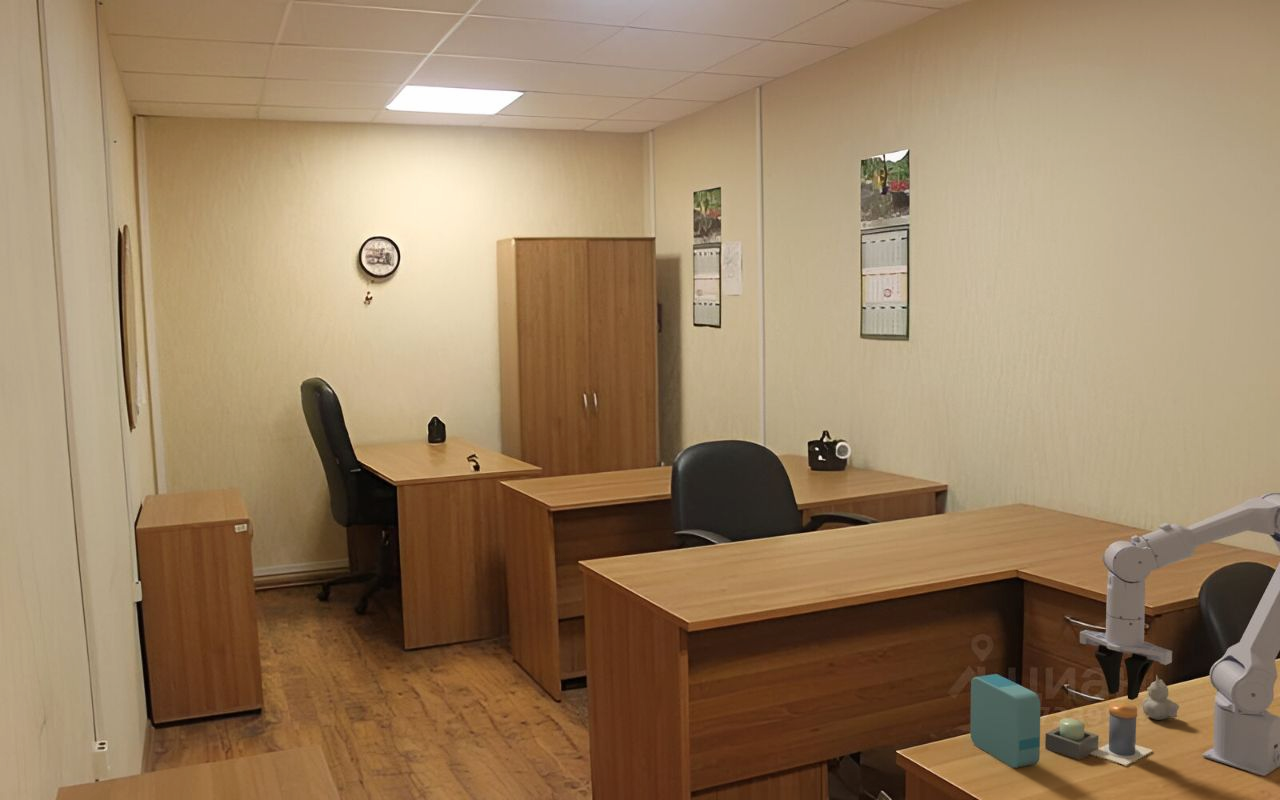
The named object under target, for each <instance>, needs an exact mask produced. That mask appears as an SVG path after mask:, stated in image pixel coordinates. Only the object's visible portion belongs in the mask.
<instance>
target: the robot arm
mask: <svg viewBox="0 0 1280 800" xmlns="http://www.w3.org/2000/svg"><path fill="white" fill-rule="evenodd" d="M1158 527H1159V528H1158V529H1156V530H1154V531H1151V532H1148V533H1145V534H1143V535H1139V536H1138V535H1137V534H1135V535H1132V536H1131V537H1130V540H1131V541H1129V540H1126V541H1125V540H1118V541H1115V542H1113V543H1111V544H1110V545H1109V546H1108V547H1106V550H1105V552H1104V555H1102V556H1101V559H1102V563H1103V565H1104V567H1105V568H1106V569H1107V585H1106V604H1105V605H1106V608H1105V609H1106V611H1105V613H1106V614H1105V615H1106V616H1105V617H1106V618H1105V632H1101V631H1099V632H1098V631H1092V630H1088V629H1085V630H1081V631H1080V632H1079V643H1080V644H1083V645H1087V644H1088V645H1092V646H1097V647H1098V648H1097V650H1096V651H1094V657H1095V658H1096V660H1097V662H1098V663H1099V665H1100V667H1101V670H1102V672H1103V675H1104V678H1105V682H1106V686H1107V690H1108V694H1110V695H1114V694H1117V693H1118V692H1120V691H1119V690H1120V684H1121V683H1120V681H1121V680H1120V678H1121V676H1120V675H1121V665H1122V659H1123V654H1127V655H1131V656H1130V657H1127V658H1124V664H1125V670H1126V675H1127V676H1126V677H1127V688H1126V689H1127V690H1126V691H1127V699H1128V700H1131V701H1133V700H1135V699H1138V698H1139V695H1140V694H1139V693H1140V690H1141V686H1142V684H1143V681H1144V679H1145V677H1146V675H1147V674H1148V671H1149V670H1150V668H1151V667H1152V665H1153V663H1154V662H1159V664H1161V665H1164V666H1167V665H1169V664H1171V663H1172V661H1173V650H1170V649H1167V648H1164V647H1161V646H1157V645H1156V644H1152V643H1150V642H1148V641H1145V612H1146V579H1147V578H1148V577H1149V576H1150V575H1151V572H1152V571H1155V570H1158V569H1161V568H1164V567H1167V566H1169V565H1172V564H1175V563H1177V562H1181V561H1183V560H1186V559H1188V558H1191V557H1192V556H1193V555H1194V554H1195V551H1196V549H1197V547H1199V546H1202V545H1206V544H1209V543H1211V542H1215V541H1219V540H1222V539H1224V538H1227V537H1231V536H1234V535H1238V534H1240V533H1243V532H1246V531H1247V532H1255V533H1260V534H1264V535H1269V537H1271V538H1272V539H1273V542H1274V543H1275V545H1276V548H1277V549H1278V551H1279V552H1280V492H1268V493H1265V494H1263V495H1261V496H1260V497H1259V496H1255V497H1252V498H1249V499H1247V500H1245V501H1244V502H1242V503H1240V504H1238V505H1236V506H1233V507H1230V508H1228V509H1227V510H1224V511H1222V512H1219V513H1217V514H1214V515H1212V516H1209V517H1208V518H1205V519H1203V520H1201V521H1199V522H1195V523H1193V524H1191V525H1189V526H1186V527H1185V526H1183V525H1180V524H1177V523H1173V524H1169V523H1168V522H1164V523H1161V524H1159V526H1158ZM1279 652H1280V562H1279V563H1278V565H1277V566H1276V569H1275V571H1274V573H1273V575H1272V576H1271V579H1270V581H1269V582H1268V585H1267V587H1266V589H1265V591H1264V593H1263V595H1262V597H1261V599H1260V600H1259V603H1258V604H1257V607H1256V608H1255V610H1254V613H1253V614H1252V617H1251V619H1250V620H1249V623H1248V625H1247V627H1246V629H1245V630H1244V632H1243V634H1242V636H1241V638H1240V640H1239V642H1237V643H1235V644H1233V645H1231V646H1230V647H1228V648H1227V650H1226V651H1225V653H1224V655H1223V656H1222V657H1221V658H1220V659H1218V660H1217V661H1215V663H1213V665H1212V666H1211V668H1210V670H1209V681H1210V683H1211V685H1212V686H1213V688H1214V689H1215V690H1216V695H1215V697H1214V710H1213V711H1214V715H1213V717H1214V718H1213V721H1214V722H1213V745H1212V748H1210V749H1208V750H1206V751H1205V752H1203V753H1202V757H1204V758H1206V759H1209V760H1213V761H1215V762H1217V763H1222V764H1225V765H1229V766H1231V767H1233V768H1234V767H1235V768H1238V769H1241V770H1243V771H1246V772H1247V771H1248V772H1250V773H1253V774H1256V775H1260V776H1264V777H1265V776H1267V775H1269V774H1270V773H1271V772H1273V771H1275V770H1276V769H1278V768H1279V767H1280V716H1278V715H1276V714H1274V713H1271V712H1270V711H1268V708H1269V707H1270V706H1271V705H1272V703H1273V702H1274V695H1275V693H1274V687H1275V684H1276V681H1277V678H1278V671H1277V667H1276V665H1277V664H1276V658H1277V657H1278V654H1279Z"/></svg>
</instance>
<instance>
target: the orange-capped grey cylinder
mask: <svg viewBox="0 0 1280 800" xmlns="http://www.w3.org/2000/svg"><path fill="white" fill-rule="evenodd" d="M1108 714H1109V722H1108V723H1109V725H1108V727H1109V729H1108V730H1109V731H1108V744H1109V750H1110V751H1111V752H1112V753H1114V754H1117V755H1122V756H1132V755H1134V754H1135V745H1137V743H1136V739H1137V716H1138V708H1137V706H1135V705H1133V704H1131V703H1127V702H1122V701H1121V702H1119V701H1118V702H1117V701H1115V702H1111V703H1109V704H1108Z"/></svg>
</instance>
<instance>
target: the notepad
mask: <svg viewBox="0 0 1280 800" xmlns="http://www.w3.org/2000/svg"><path fill="white" fill-rule="evenodd" d="M1151 752H1152V753H1154V750H1153V749H1150V748H1147V747H1144V746H1141V745H1137V744H1136V745H1135V754H1134V755H1132V756H1122V755H1117V754H1114V753H1112V752H1111V751H1110V750H1109V743H1106V744H1105V745H1103V746H1101V747H1098V749H1097V750H1095V751H1093V752H1091V753H1090V755H1091V756H1093V755H1094V756H1093V757H1096V756H1097V758H1099V757H1100V758H1099V759H1102V758H1103V759H1102V760H1105V759H1107V760H1106V761H1108V760H1110V761H1109V762H1111V761H1113V762H1112V763H1114V762H1116V763H1119V764H1122V765H1125V766H1126V765H1128V766H1130V765H1131V764H1130V763H1132V762H1134V761H1135V762H1137V761H1139V760H1141V759H1143V758H1144V756H1145V757H1146V755H1147V754H1148V755H1150V754H1152V753H1151ZM1149 753H1150V754H1149ZM1090 755H1089V756H1090ZM1148 755H1147V756H1148ZM1142 757H1143V758H1142ZM1140 758H1141V759H1140ZM1138 759H1139V760H1138ZM1136 760H1137V761H1136ZM1135 762H1134V763H1135ZM1116 763H1115V764H1116ZM1119 764H1118V765H1119ZM1129 764H1130V765H1129ZM1132 764H1133V763H1132ZM1122 765H1121V766H1122ZM1125 766H1124V767H1125ZM1126 767H1127V766H1126Z"/></svg>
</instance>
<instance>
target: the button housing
mask: <svg viewBox="0 0 1280 800" xmlns="http://www.w3.org/2000/svg"><path fill="white" fill-rule="evenodd" d="M1045 749H1046V750H1049V751H1051V752H1055V753H1058V754H1060V755H1064V756H1065V757H1069V758H1071V759H1073V760H1074V759H1075V760H1077V761H1081V760H1082V759H1084V758H1085V757H1086V758H1087V757H1088V756H1090V753H1091V752H1093V751H1095V750H1097V749H1099V734H1094V733H1092V732H1089V731H1086V730H1084V739H1082V740H1080V741H1078V742H1076V741H1073V740H1070V739H1067V738H1064V737H1061V736H1060V726H1058V727H1056V728H1054V729H1052V730H1050V731H1048V732H1046V733H1045Z"/></svg>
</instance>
